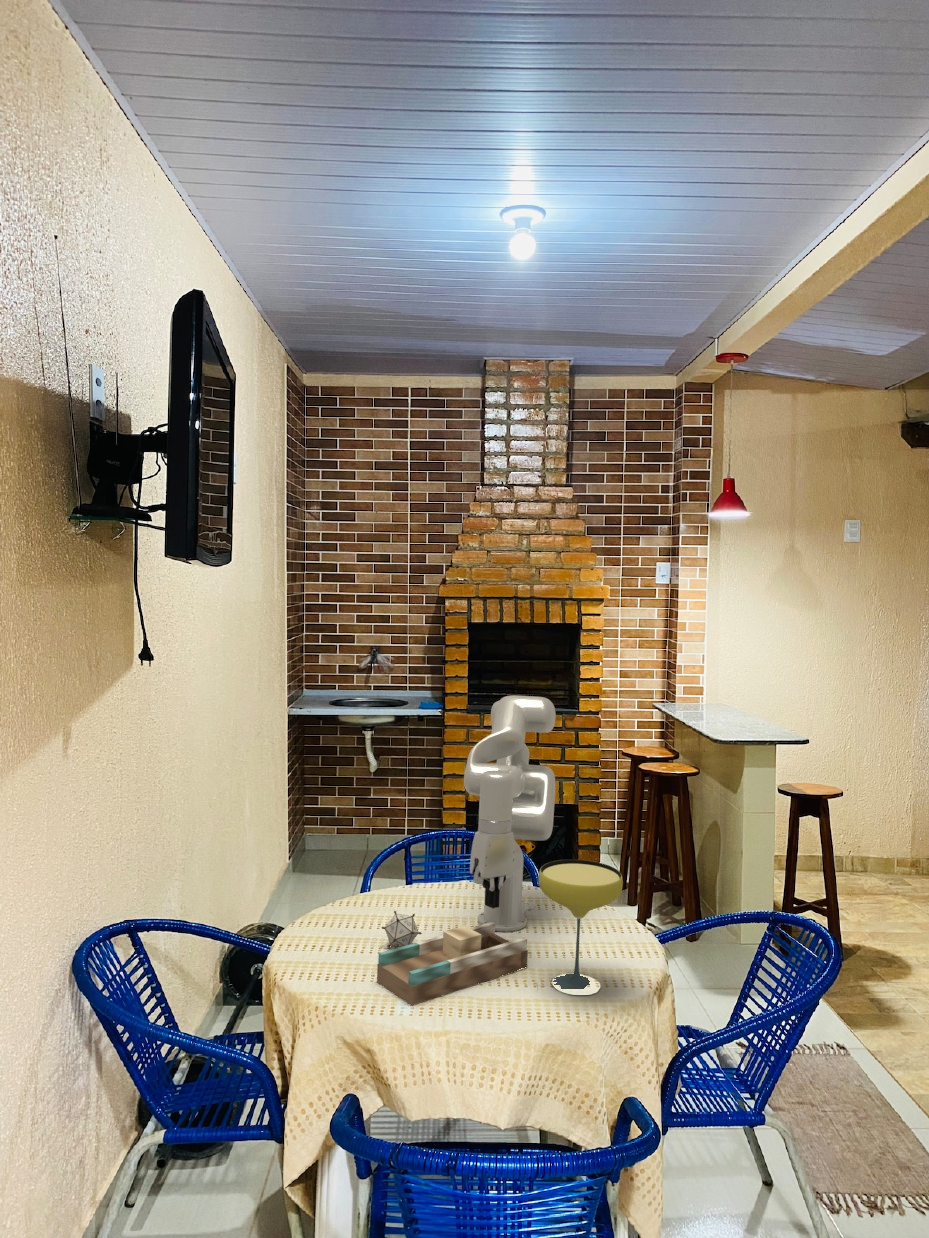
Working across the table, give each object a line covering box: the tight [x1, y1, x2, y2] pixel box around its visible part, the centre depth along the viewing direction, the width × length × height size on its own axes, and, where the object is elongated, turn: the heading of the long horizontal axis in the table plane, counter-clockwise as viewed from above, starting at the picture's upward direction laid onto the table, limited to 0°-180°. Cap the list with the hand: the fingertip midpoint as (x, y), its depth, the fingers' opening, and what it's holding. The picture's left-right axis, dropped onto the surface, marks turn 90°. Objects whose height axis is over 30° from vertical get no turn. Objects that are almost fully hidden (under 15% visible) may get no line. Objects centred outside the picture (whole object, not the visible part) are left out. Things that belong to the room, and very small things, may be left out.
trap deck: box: [376, 922, 529, 1006], centre depth 203 cm, size 32×13×6 cm, turn 129°
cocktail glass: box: [538, 859, 624, 989], centre depth 199 cm, size 18×18×25 cm
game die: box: [380, 910, 422, 949], centre depth 217 cm, size 9×8×10 cm
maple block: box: [442, 925, 481, 959], centre depth 204 cm, size 6×6×5 cm
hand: (491, 905), depth 208 cm, fingers closed
